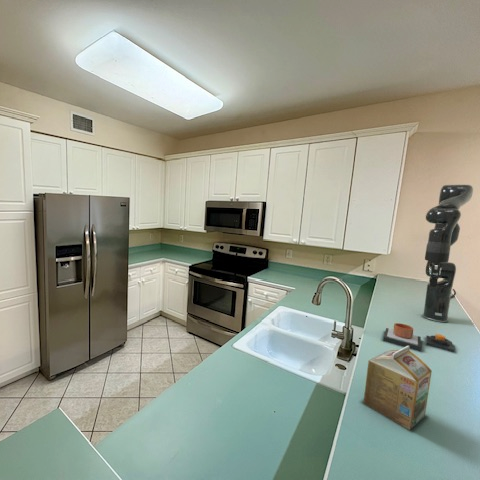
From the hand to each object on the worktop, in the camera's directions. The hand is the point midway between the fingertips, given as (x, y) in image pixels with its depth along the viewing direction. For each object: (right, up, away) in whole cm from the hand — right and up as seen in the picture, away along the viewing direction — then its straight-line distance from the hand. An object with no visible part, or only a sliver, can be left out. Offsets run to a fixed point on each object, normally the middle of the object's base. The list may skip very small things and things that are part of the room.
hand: (432, 284), depth 119 cm
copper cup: (-17, -23, -3) cm, 29 cm away
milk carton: (-61, -30, -44) cm, 81 cm away
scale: (-17, -26, -3) cm, 31 cm away
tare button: (-3, -24, -6) cm, 25 cm away
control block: (-3, -26, -6) cm, 27 cm away
